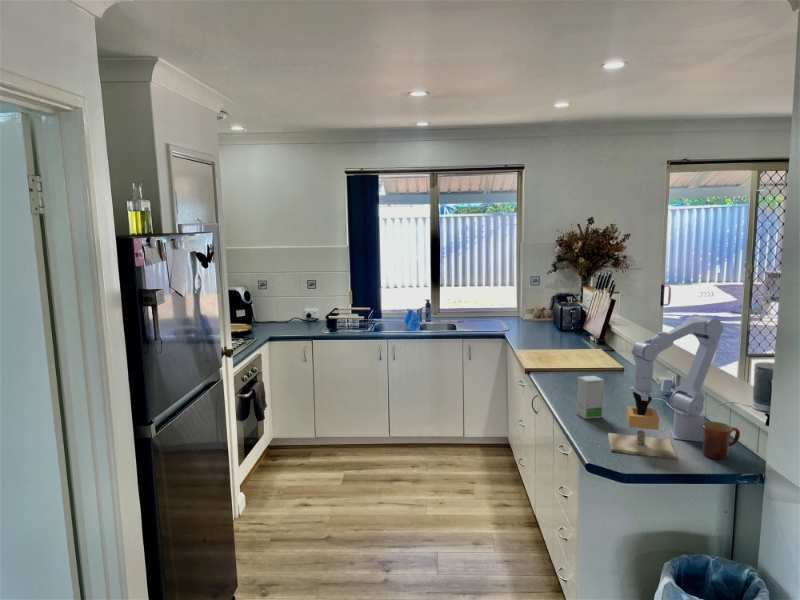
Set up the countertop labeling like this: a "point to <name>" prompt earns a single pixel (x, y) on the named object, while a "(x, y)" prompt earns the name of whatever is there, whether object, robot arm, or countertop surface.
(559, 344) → the countertop surface
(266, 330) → the countertop surface
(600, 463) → the countertop surface
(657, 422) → the wooden open tray
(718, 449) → the mug
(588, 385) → the skincare box
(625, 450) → the plate
